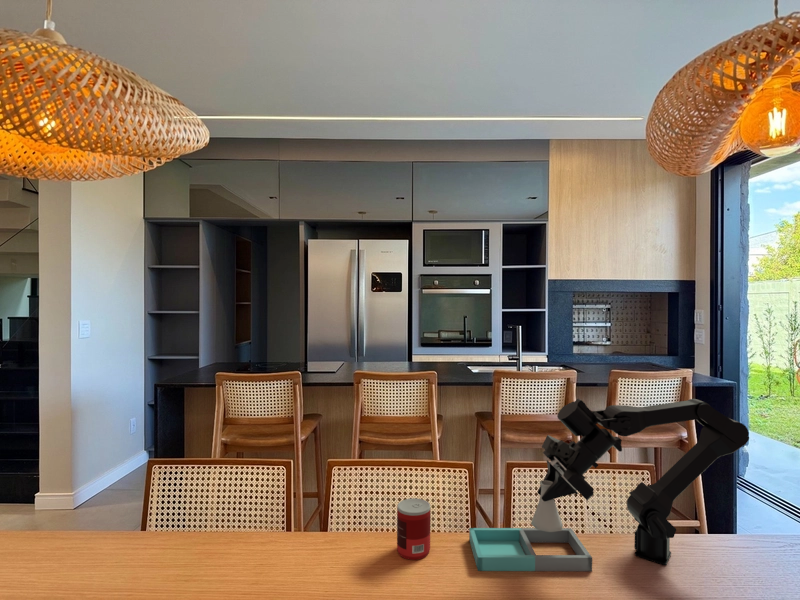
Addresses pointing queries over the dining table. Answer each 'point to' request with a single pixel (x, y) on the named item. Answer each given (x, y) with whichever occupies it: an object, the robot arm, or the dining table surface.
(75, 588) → the dining table surface
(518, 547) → the tray
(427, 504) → the canned food
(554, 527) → the flask
